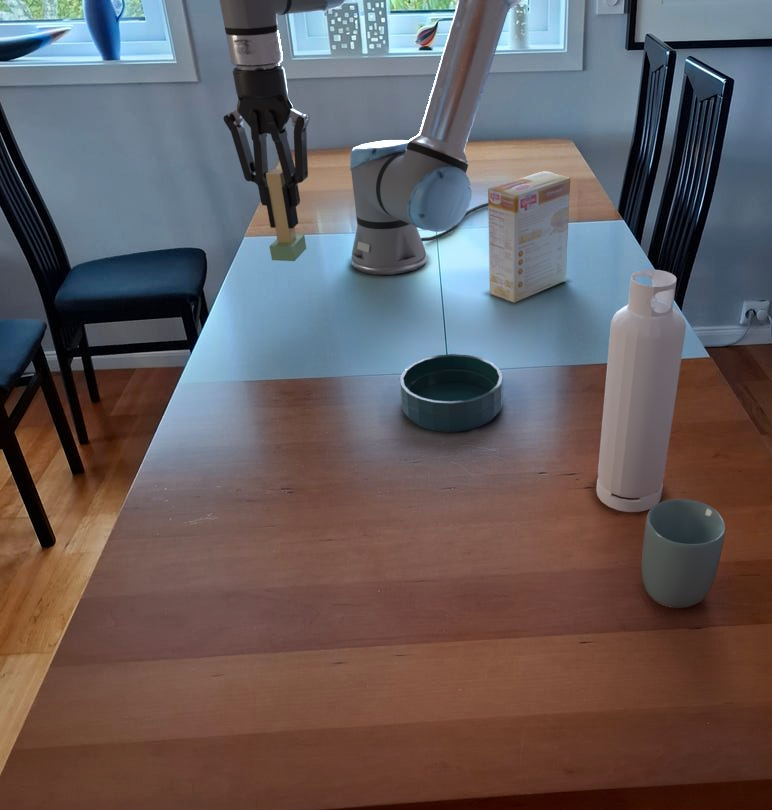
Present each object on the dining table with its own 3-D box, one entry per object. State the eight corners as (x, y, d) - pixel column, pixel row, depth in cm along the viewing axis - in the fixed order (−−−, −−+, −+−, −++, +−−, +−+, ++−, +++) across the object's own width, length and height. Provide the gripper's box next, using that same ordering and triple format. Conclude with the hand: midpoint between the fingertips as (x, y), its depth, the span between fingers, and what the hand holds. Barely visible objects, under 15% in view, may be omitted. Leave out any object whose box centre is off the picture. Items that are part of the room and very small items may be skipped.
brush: (284, 247, 139) (270, 166, 131) (306, 248, 139) (293, 166, 131) (271, 260, 135) (256, 176, 127) (294, 261, 134) (280, 177, 126)
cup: (629, 572, 90) (638, 500, 84) (697, 567, 90) (711, 495, 84) (646, 622, 84) (658, 548, 78) (720, 616, 84) (737, 543, 78)
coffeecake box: (540, 272, 162) (543, 169, 150) (567, 281, 158) (572, 177, 146) (487, 293, 154) (486, 187, 142) (514, 303, 149) (515, 195, 138)
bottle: (620, 519, 98) (645, 298, 81) (583, 485, 103) (599, 272, 86) (674, 500, 101) (709, 283, 84) (635, 468, 106) (660, 259, 89)
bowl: (414, 380, 126) (412, 351, 123) (508, 386, 124) (508, 357, 121) (391, 430, 115) (388, 399, 112) (494, 437, 113) (494, 406, 110)
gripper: (197, 69, 118) (231, 231, 132) (298, 70, 115) (322, 234, 130) (219, 60, 123) (249, 216, 138) (315, 61, 121) (336, 219, 136)
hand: (284, 225), depth 134 cm, fingers closed on brush, 2 cm apart
